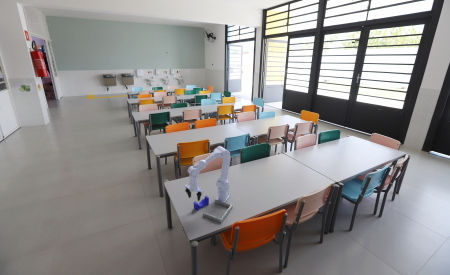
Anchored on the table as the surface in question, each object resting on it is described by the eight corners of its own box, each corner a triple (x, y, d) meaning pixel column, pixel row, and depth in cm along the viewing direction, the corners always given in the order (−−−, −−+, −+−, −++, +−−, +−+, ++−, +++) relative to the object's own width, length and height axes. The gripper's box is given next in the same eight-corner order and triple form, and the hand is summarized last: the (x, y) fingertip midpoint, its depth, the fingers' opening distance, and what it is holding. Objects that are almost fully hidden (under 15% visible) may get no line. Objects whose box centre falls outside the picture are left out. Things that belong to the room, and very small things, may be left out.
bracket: (215, 201, 172) (215, 199, 171) (232, 207, 166) (232, 204, 165) (203, 215, 157) (203, 213, 156) (221, 222, 151) (221, 219, 150)
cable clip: (205, 201, 173) (205, 194, 171) (208, 203, 170) (208, 197, 168) (192, 207, 165) (192, 201, 163) (196, 210, 162) (196, 204, 160)
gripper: (181, 182, 154) (182, 198, 159) (199, 188, 148) (200, 204, 153) (187, 178, 160) (188, 193, 165) (204, 183, 154) (205, 199, 159)
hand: (194, 198), depth 160 cm, fingers open, 7 cm apart
